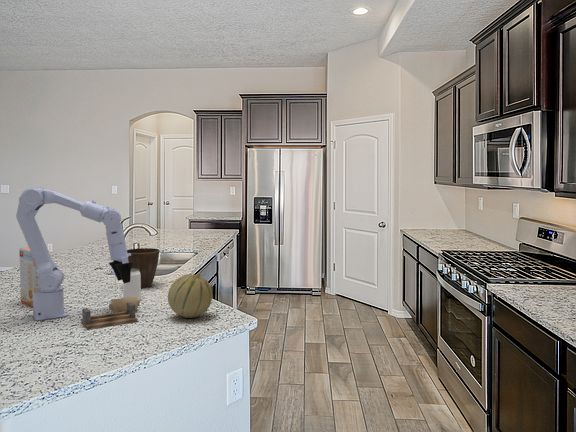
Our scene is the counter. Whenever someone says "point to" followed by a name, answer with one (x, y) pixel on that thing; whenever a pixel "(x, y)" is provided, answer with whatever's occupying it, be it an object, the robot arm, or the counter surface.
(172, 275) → the counter surface
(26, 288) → the cracker box
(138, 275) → the can
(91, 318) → the cradle
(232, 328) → the counter surface
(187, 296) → the cantaloupe
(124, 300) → the bottle
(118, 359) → the counter surface
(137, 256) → the plant pot
